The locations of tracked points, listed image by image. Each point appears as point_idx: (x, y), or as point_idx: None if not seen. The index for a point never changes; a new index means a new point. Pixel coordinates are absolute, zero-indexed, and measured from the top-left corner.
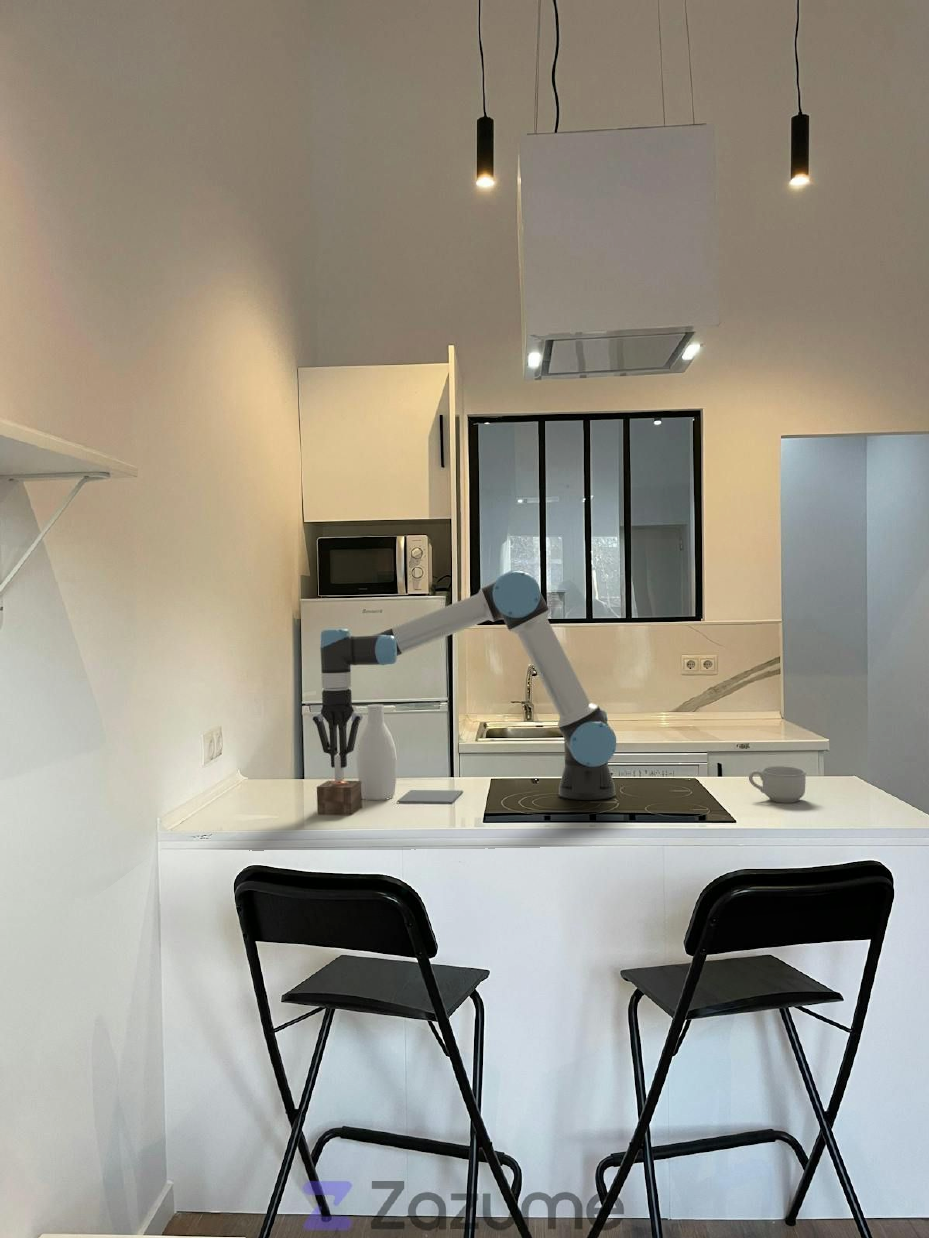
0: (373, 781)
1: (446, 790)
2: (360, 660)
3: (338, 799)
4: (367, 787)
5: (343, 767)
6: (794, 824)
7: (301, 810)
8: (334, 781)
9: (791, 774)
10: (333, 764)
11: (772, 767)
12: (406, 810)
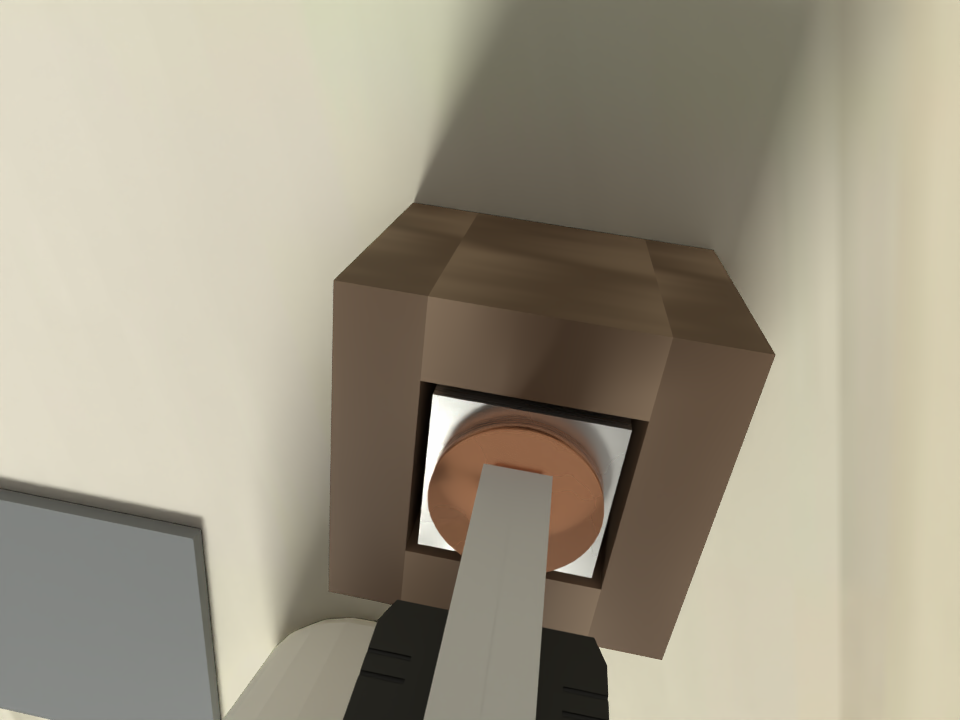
0: (318, 717)
1: (30, 712)
2: None
3: (508, 261)
4: None
5: (413, 603)
6: None
7: (862, 415)
8: (570, 522)
9: None
10: (565, 671)
11: None
12: (57, 318)
